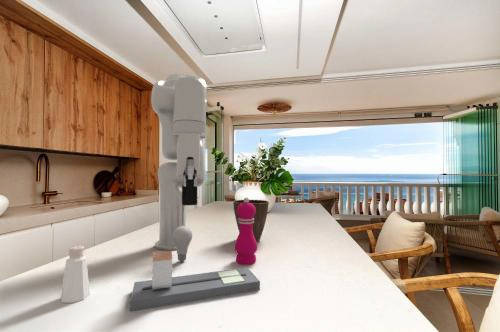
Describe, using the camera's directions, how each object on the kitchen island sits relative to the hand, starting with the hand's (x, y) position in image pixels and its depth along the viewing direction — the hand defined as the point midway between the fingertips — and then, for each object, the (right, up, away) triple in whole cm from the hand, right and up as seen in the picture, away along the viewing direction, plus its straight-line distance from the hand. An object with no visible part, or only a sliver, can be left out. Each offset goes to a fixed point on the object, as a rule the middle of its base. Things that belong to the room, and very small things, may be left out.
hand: (188, 202), depth 59 cm
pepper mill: (+13, -22, +19) cm, 32 cm away
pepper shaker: (-24, -21, -4) cm, 32 cm away
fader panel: (+2, -21, 0) cm, 21 cm away
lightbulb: (-7, -21, +18) cm, 29 cm away
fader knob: (-5, -18, -3) cm, 19 cm away
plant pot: (+15, -22, +44) cm, 52 cm away
